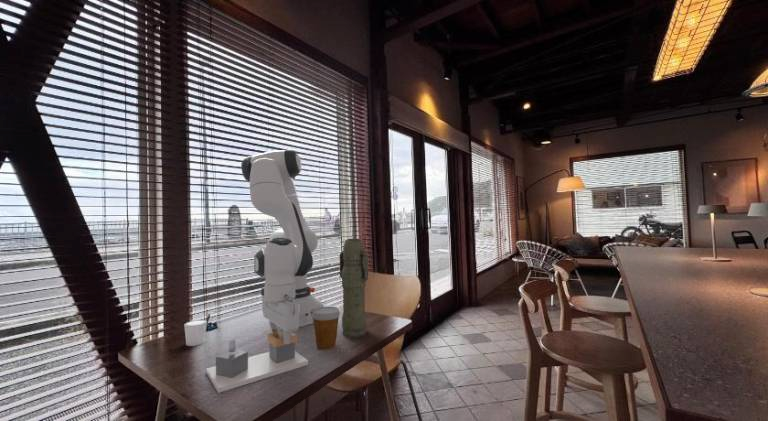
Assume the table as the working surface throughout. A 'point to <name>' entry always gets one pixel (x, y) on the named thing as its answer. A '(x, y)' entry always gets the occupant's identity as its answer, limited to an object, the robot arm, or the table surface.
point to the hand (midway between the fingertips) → (280, 339)
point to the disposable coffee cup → (325, 326)
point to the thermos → (353, 287)
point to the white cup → (195, 332)
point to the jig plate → (252, 365)
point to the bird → (210, 324)
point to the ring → (280, 339)
